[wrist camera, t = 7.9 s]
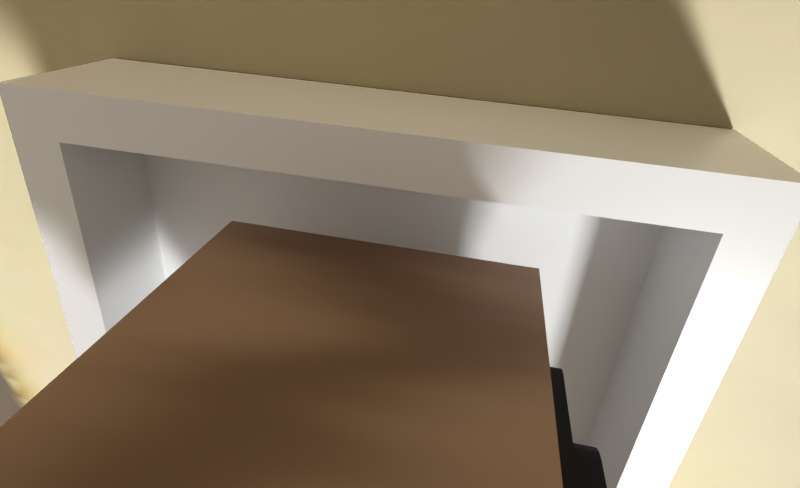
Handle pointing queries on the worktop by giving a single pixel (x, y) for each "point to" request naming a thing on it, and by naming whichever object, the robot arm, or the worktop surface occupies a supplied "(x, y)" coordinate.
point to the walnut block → (305, 376)
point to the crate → (426, 216)
